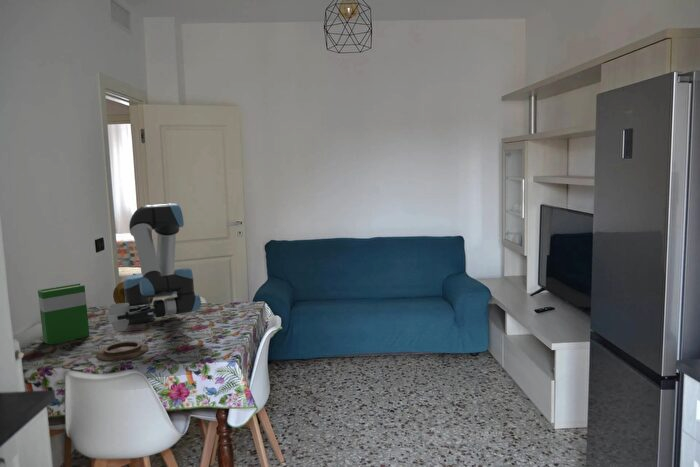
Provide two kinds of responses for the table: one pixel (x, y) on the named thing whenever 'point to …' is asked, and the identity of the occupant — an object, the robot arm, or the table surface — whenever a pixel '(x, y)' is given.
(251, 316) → the table surface
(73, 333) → the hardback book
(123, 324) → the cup
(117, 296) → the decorative pumpkin
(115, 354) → the round tray
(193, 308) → the robot arm
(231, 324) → the table surface
